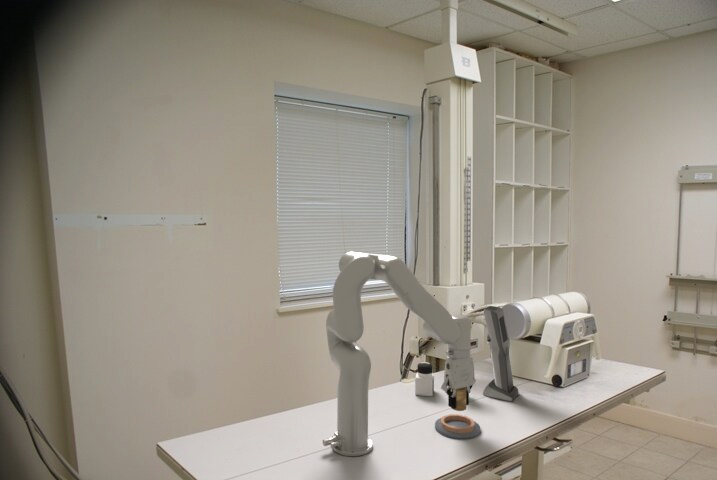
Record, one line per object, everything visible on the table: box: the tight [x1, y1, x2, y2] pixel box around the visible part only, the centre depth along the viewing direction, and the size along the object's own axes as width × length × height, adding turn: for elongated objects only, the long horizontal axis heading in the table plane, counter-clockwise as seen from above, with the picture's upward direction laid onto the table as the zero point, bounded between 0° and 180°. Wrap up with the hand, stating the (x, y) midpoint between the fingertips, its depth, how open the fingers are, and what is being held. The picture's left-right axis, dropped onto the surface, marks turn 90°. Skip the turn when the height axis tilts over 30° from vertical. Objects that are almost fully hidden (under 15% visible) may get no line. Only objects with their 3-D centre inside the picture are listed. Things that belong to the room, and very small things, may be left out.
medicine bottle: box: [414, 362, 435, 397], centre depth 187 cm, size 7×7×12 cm
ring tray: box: [434, 413, 481, 440], centre depth 155 cm, size 15×15×2 cm
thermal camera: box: [482, 305, 519, 403], centre depth 185 cm, size 12×13×35 cm
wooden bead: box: [451, 387, 467, 412], centre depth 154 cm, size 5×5×7 cm
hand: (458, 405), depth 154 cm, fingers closed on wooden bead, 4 cm apart
